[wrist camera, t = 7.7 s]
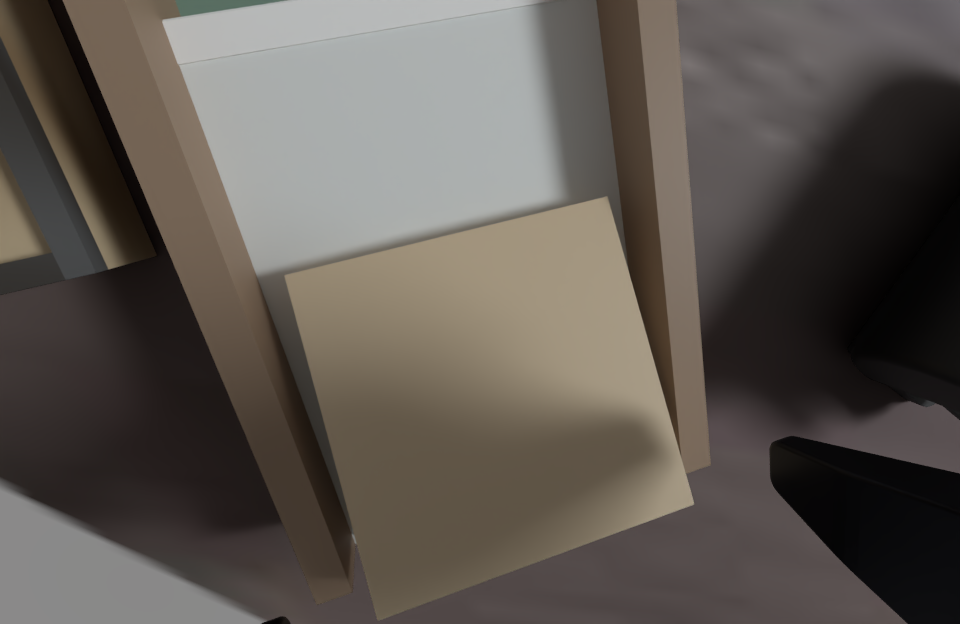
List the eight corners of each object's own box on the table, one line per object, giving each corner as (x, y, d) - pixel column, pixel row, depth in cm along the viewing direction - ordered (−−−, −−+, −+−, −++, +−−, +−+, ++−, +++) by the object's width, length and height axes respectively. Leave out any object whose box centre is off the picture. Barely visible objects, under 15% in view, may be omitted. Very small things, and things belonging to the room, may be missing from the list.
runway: (645, 411, 14) (775, 517, 10) (329, 515, 13) (303, 699, 8) (541, -458, 9) (730, -1203, 4) (-39, -454, 7) (-787, -1623, 3)
